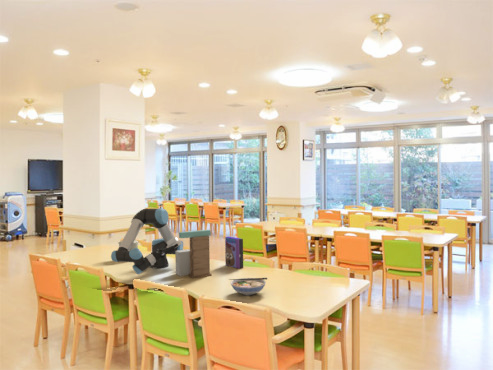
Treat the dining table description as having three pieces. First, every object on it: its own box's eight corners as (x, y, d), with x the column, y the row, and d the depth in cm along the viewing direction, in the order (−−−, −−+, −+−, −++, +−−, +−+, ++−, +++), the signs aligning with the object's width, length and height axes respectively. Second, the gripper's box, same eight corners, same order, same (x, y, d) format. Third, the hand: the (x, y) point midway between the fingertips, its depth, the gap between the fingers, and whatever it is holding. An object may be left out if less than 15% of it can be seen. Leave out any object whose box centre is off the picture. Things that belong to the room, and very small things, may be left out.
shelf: (175, 273, 313) (175, 250, 312) (199, 270, 323) (199, 248, 323) (179, 276, 306) (179, 252, 306) (203, 272, 316) (203, 249, 316)
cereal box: (225, 265, 341) (225, 236, 340) (230, 264, 344) (229, 236, 343) (238, 268, 328) (238, 239, 327) (243, 267, 331) (242, 238, 330)
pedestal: (188, 275, 306) (187, 236, 306) (206, 273, 314) (205, 234, 313) (193, 278, 299) (192, 237, 298) (211, 275, 306) (210, 236, 306)
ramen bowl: (227, 299, 246) (227, 286, 246) (229, 289, 269) (229, 276, 269) (269, 299, 246) (268, 285, 246) (266, 288, 269) (266, 276, 269)
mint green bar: (179, 237, 300) (178, 232, 299) (208, 235, 312) (208, 229, 312) (181, 238, 296) (180, 232, 296) (210, 235, 308) (210, 230, 308)
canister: (120, 263, 356) (120, 239, 355) (116, 259, 371) (116, 236, 371) (141, 260, 364) (141, 237, 364) (136, 257, 380) (135, 235, 380)
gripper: (150, 258, 299) (174, 242, 308) (161, 265, 278) (186, 246, 287) (145, 250, 297) (169, 233, 306) (156, 256, 276) (181, 238, 285)
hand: (177, 240), depth 296 cm, fingers open, 13 cm apart
